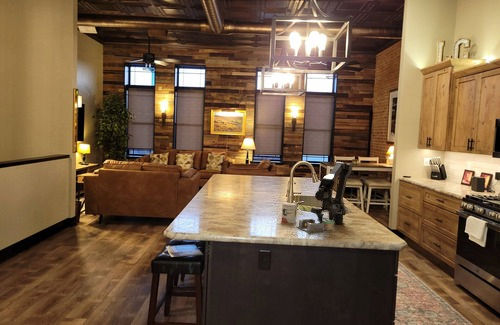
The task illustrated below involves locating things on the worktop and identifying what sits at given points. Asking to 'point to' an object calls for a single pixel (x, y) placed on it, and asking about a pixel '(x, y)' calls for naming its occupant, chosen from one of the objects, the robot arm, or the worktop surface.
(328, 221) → the board
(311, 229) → the chassis
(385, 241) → the worktop surface
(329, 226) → the block
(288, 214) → the ink box
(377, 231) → the worktop surface
